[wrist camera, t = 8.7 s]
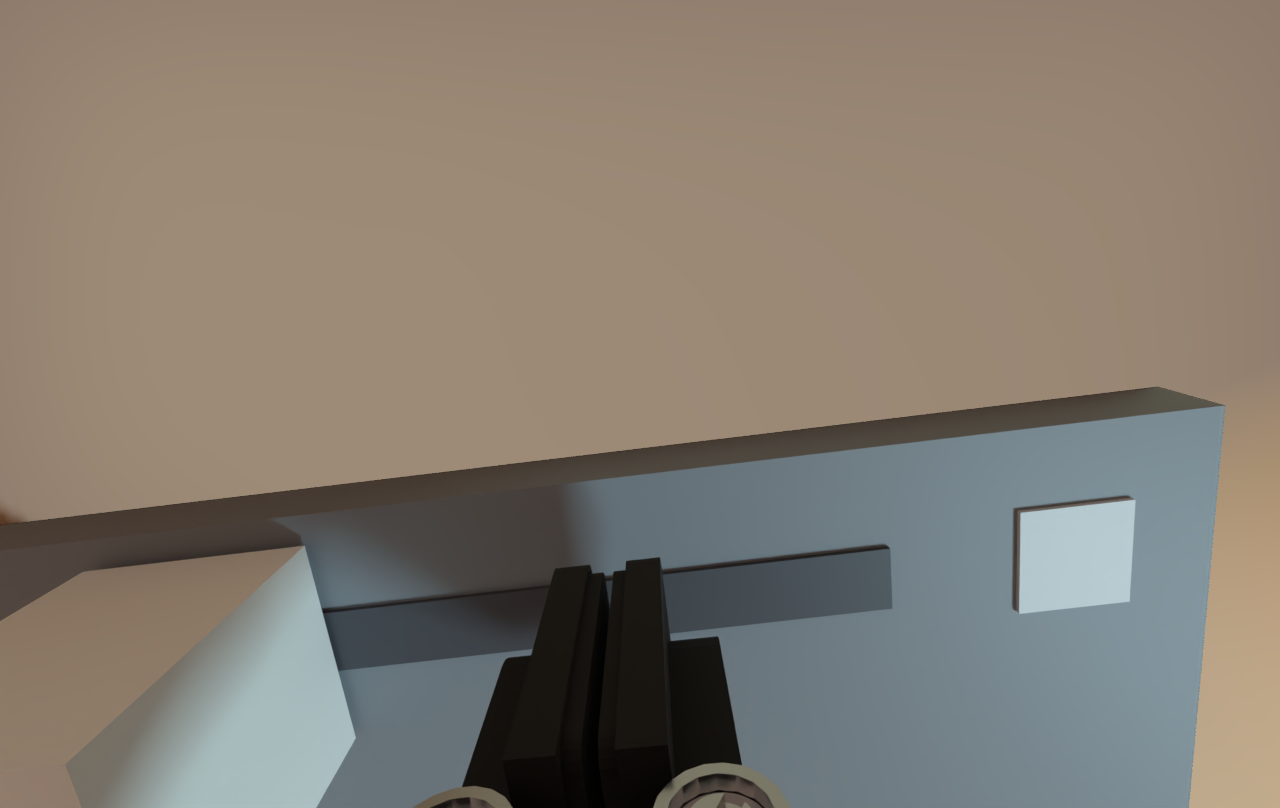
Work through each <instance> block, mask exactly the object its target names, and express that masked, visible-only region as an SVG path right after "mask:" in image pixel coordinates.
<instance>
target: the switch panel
mask: <svg viewBox="0 0 1280 808" xmlns="http://www.w3.org/2000/svg"><path fill="white" fill-rule="evenodd" d="M1224 411H1225V405H1222V404H1218V403H1215V402H1211V401H1207V400H1204V399H1200V398H1196V397H1193V396H1189V395H1186V394H1182V393H1178V392H1175V391H1171V390H1168V389H1164V388H1160V387H1151V388H1144V389H1135V390H1126V391H1118V392H1110V393H1102V394H1093V395H1084V396H1076V397H1068V398H1059V399H1051V400H1043V401H1034V402H1027V403H1018V404H1009V405H1001V406H992V407H984V408H976V409H967V410H960V411H952V412H942V413H934V414H926V415H917V416H909V417H900V418H892V419H885V420H875V421H867V422H859V423H850V424H842V425H834V426H826V427H817V428H808V429H801V430H792V431H783V432H775V433H767V434H759V435H750V436H743V437H734V438H725V439H717V440H709V441H700V442H691V443H683V444H675V445H666V446H659V447H650V448H641V449H633V450H625V451H616V452H608V453H599V454H592V455H583V456H575V457H566V458H558V459H549V460H541V461H533V462H524V463H516V464H507V465H499V466H491V467H482V468H474V469H466V470H457V471H450V472H441V473H432V474H424V475H416V476H408V477H399V478H390V479H382V480H374V481H366V482H357V483H349V484H341V485H332V486H324V487H315V488H307V489H298V490H290V491H283V492H273V493H265V494H257V495H248V496H240V497H232V498H223V499H215V500H206V501H198V502H190V503H181V504H173V505H165V506H156V507H148V508H140V509H132V510H123V511H114V512H107V513H98V514H90V515H81V516H73V517H64V518H56V519H48V520H39V521H31V522H22V523H14V524H6V525H0V621H1V620H3V619H5V618H6V617H8V616H10V615H11V614H13V613H15V612H16V611H18V610H20V609H21V608H23V607H25V606H26V605H28V604H30V603H31V602H33V601H35V600H36V599H38V598H40V597H41V596H43V595H45V594H47V593H48V592H50V591H52V590H53V589H55V588H57V587H58V586H60V585H62V584H63V583H65V582H67V581H68V580H70V579H72V578H73V577H75V576H77V575H78V574H80V573H82V572H84V571H93V570H101V569H110V568H118V567H127V566H136V565H144V564H153V563H161V562H170V561H178V560H187V559H195V558H204V557H212V556H221V555H229V554H238V553H246V552H255V551H263V550H272V549H280V548H289V547H297V546H305V549H306V553H307V556H308V560H309V564H310V568H311V571H312V575H313V579H314V583H315V586H316V590H317V594H318V598H319V601H320V605H321V609H322V613H323V616H324V620H325V624H326V628H327V631H328V635H329V639H330V643H331V646H332V650H333V654H334V658H335V661H336V665H337V669H338V673H339V676H340V680H341V684H342V688H343V691H344V695H345V699H346V703H347V707H348V710H349V714H350V718H351V722H352V725H353V729H354V733H355V737H356V739H355V740H354V742H353V744H352V746H351V747H350V749H349V751H348V753H347V755H346V756H345V758H344V760H343V762H342V763H341V765H340V767H339V769H338V770H337V772H336V774H335V776H334V777H333V779H332V781H331V783H330V785H329V786H328V788H327V790H326V792H325V793H324V795H323V797H322V799H321V800H320V802H319V804H318V806H317V807H316V808H414V807H415V806H416V805H418V804H420V803H421V802H423V801H425V800H427V799H428V798H430V797H432V796H433V795H436V794H439V793H441V792H444V791H447V790H450V789H453V788H459V787H462V785H463V782H464V779H465V776H466V773H467V770H468V767H469V764H470V761H471V758H472V755H473V752H474V749H475V746H476V743H477V740H478V737H479V734H480V731H481V728H482V725H483V722H484V719H485V716H486V713H487V710H488V707H489V704H490V701H491V698H492V695H493V692H494V689H495V686H496V683H497V680H498V677H499V674H500V671H501V668H502V665H503V663H504V661H505V659H507V658H509V657H519V656H529V655H531V654H532V650H533V646H534V643H535V639H536V635H537V632H538V628H539V624H540V621H541V617H542V613H543V610H544V606H545V602H546V598H547V595H548V591H549V587H550V584H551V580H552V576H553V573H554V570H555V568H563V567H573V566H582V565H590V566H591V569H592V573H604V575H605V580H606V586H607V592H608V599H609V606H610V603H611V592H612V582H613V572H614V571H621V570H625V568H626V561H629V560H638V559H648V558H657V557H660V559H661V566H662V574H663V582H664V590H665V598H666V606H667V614H668V622H669V630H670V638H671V641H676V640H686V639H696V638H705V637H715V636H718V637H719V641H720V647H721V652H722V658H723V663H724V669H725V674H726V680H727V685H728V690H729V696H730V701H731V707H732V712H733V718H734V723H735V729H736V734H737V740H738V745H739V751H740V756H741V762H742V765H743V766H746V767H748V768H750V769H753V770H755V771H757V772H759V773H762V774H763V775H764V776H766V777H767V778H768V779H769V780H770V781H772V782H773V783H774V784H775V785H777V786H778V788H779V789H780V791H781V793H782V794H783V796H784V797H785V799H786V800H787V802H788V804H789V806H790V808H1189V799H1190V788H1191V776H1192V766H1193V755H1194V744H1195V733H1196V721H1197V711H1198V700H1199V689H1200V677H1201V667H1202V655H1203V644H1204V632H1205V621H1206V610H1207V600H1208V588H1209V578H1210V567H1211V556H1212V544H1213V534H1214V523H1215V512H1216V500H1217V489H1218V478H1219V467H1220V455H1221V445H1222V434H1223V423H1224Z"/></svg>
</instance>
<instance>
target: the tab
mask: <svg viewBox="0 0 1280 808" xmlns="http://www.w3.org/2000/svg"><path fill="white" fill-rule="evenodd" d="M355 739H356V737H355V733H354V729H353V725H352V722H351V718H350V714H349V710H348V707H347V703H346V699H345V695H344V691H343V688H342V684H341V680H340V676H339V673H338V669H337V665H336V661H335V658H334V654H333V650H332V646H331V643H330V639H329V635H328V631H327V628H326V624H325V620H324V616H323V613H322V609H321V605H320V601H319V598H318V594H317V590H316V586H315V583H314V579H313V575H312V571H311V568H310V564H309V560H308V556H307V553H306V549H305V546H297V547H289V548H280V549H272V550H263V551H255V552H246V553H238V554H229V555H221V556H212V557H204V558H195V559H187V560H178V561H170V562H161V563H153V564H144V565H136V566H127V567H118V568H110V569H101V570H93V571H84V572H82V573H80V574H78V575H77V576H75V577H73V578H72V579H70V580H68V581H67V582H65V583H63V584H62V585H60V586H58V587H57V588H55V589H53V590H52V591H50V592H48V593H47V594H45V595H43V596H41V597H40V598H38V599H36V600H35V601H33V602H31V603H30V604H28V605H26V606H25V607H23V608H21V609H20V610H18V611H16V612H15V613H13V614H11V615H10V616H8V617H6V618H5V619H3V620H1V621H0V808H316V807H317V806H318V804H319V802H320V800H321V799H322V797H323V795H324V793H325V792H326V790H327V788H328V786H329V785H330V783H331V781H332V779H333V777H334V776H335V774H336V772H337V770H338V769H339V767H340V765H341V763H342V762H343V760H344V758H345V756H346V755H347V753H348V751H349V749H350V747H351V746H352V744H353V742H354V740H355Z"/></svg>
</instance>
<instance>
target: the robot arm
mask: <svg viewBox="0 0 1280 808" xmlns="http://www.w3.org/2000/svg"><path fill="white" fill-rule="evenodd" d="M414 808H790V806H789V804H788V802H787V800H786V799H785V797H784V796H783V794H782V793H781V791H780V789H779V788H778V786H777V785H775V784H774V783H773V782H772V781H770V780H769V779H768V778H767V777H766V776H764V775H763V774H762V773H759V772H757V771H755V770H753V769H750V768H748V767H746V766H743V765H742V762H741V756H740V751H739V745H738V740H737V734H736V729H735V723H734V718H733V712H732V707H731V701H730V696H729V690H728V685H727V680H726V674H725V669H724V663H723V658H722V652H721V647H720V641H719V637H718V636H715V637H705V638H696V639H686V640H676V641H671V638H670V630H669V622H668V614H667V606H666V598H665V590H664V582H663V574H662V566H661V559H660V557H657V558H648V559H638V560H629V561H626V568H625V570H621V571H614V572H613V582H612V592H611V603H610V606H609V599H608V592H607V586H606V580H605V575H604V573H592V569H591V566H590V565H582V566H573V567H563V568H555V570H554V573H553V576H552V580H551V584H550V587H549V591H548V595H547V598H546V602H545V606H544V610H543V613H542V617H541V621H540V624H539V628H538V632H537V635H536V639H535V643H534V646H533V650H532V654H531V655H529V656H519V657H509V658H507V659H505V661H504V663H503V665H502V668H501V671H500V674H499V677H498V680H497V683H496V686H495V689H494V692H493V695H492V698H491V701H490V704H489V707H488V710H487V713H486V716H485V719H484V722H483V725H482V728H481V731H480V734H479V737H478V740H477V743H476V746H475V749H474V752H473V755H472V758H471V761H470V764H469V767H468V770H467V773H466V776H465V779H464V782H463V785H462V787H459V788H453V789H450V790H447V791H444V792H441V793H439V794H436V795H433V796H432V797H430V798H428V799H427V800H425V801H423V802H421V803H420V804H418V805H416V806H415V807H414Z"/></svg>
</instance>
